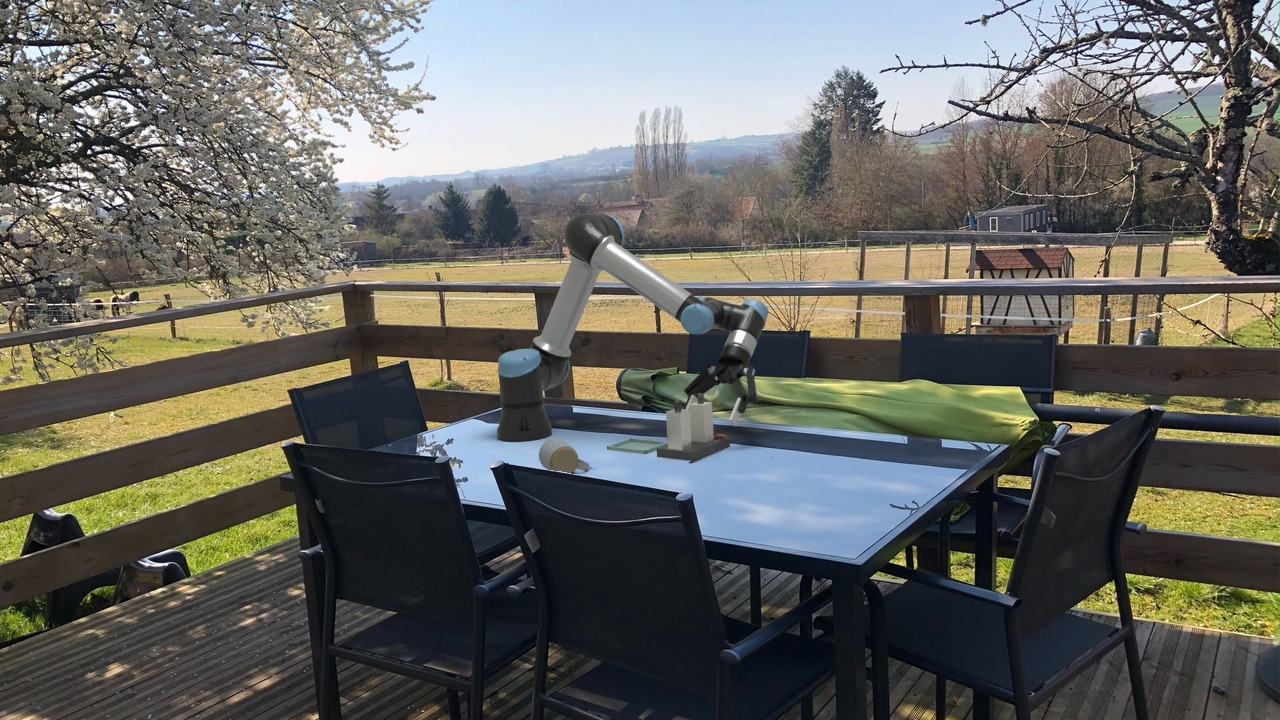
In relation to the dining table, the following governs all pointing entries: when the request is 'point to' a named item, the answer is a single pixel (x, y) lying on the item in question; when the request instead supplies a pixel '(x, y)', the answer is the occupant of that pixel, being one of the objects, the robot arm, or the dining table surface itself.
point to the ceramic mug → (560, 456)
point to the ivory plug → (701, 420)
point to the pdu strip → (696, 446)
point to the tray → (637, 445)
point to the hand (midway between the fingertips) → (708, 421)
